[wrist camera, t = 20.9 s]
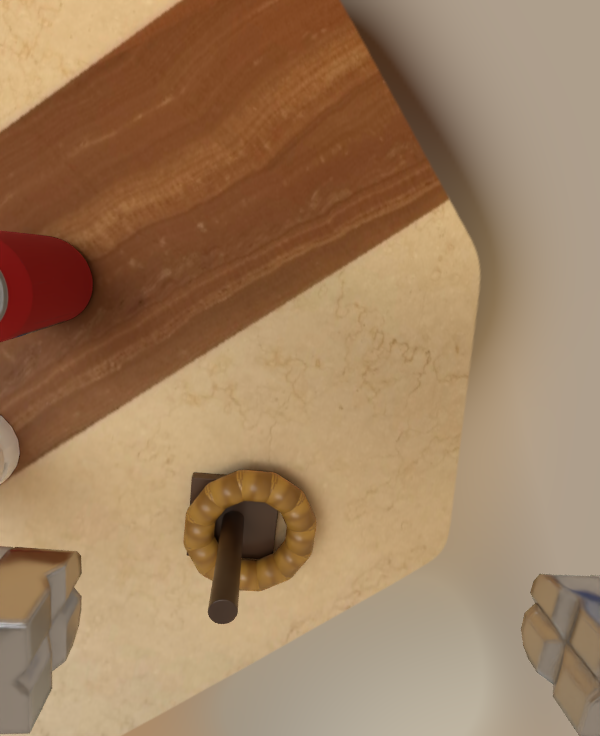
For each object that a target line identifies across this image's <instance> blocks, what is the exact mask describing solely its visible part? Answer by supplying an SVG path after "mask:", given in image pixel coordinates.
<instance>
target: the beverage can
mask: <svg viewBox="0 0 600 736" xmlns="http://www.w3.org/2000/svg"><path fill="white" fill-rule="evenodd" d="M92 289H93V280H92V274H91V271H90V268H89V266H88V264H87V262H86V260H85V259H84V257H83V256H82V255H81V254H80V253H79V252H78V251H77V250H76V249H75V248H74V247H73V246H71V245H70V244H68V243H67V242H65V241H63V240H61V239H58V238H55V237H50V236H43V235H35V234H26V233H17V232H8V231H0V342H3V341H6V340H9V339H13V338H16V337H19V336H22V335H26V334H29V333H32V332H35V331H38V330H41V329H44V328H47V327H50V326H53V325H56V324H59V323H62V322H64V321H67V320H70V319H72V318H74V317H76V316H77V315H78V314H80V313H81V312H82V311H83V310H84V309H85V307H86V306H87V304H88V302H89V300H90V298H91V294H92Z"/></svg>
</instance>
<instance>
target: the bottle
mask: <svg viewBox="0 0 600 736" xmlns="http://www.w3.org/2000/svg"><path fill="white" fill-rule="evenodd" d="M19 455H20V451H19V443H18V439H17V437H16V434H15V432H14V430H13V428H12V427H11V425H10V424H9V423H8V422H7V421H6V420H5V419H4V418H3V417H2V416H1V415H0V484H1V483H3V482H4V481H5V480H6V479H7V478H8V477H9V476H10V475H11V474H12V472H13V471H14V469H15V468H16V466H17V463H18V459H19ZM4 463H5V464H4Z"/></svg>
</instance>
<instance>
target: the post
mask: <svg viewBox="0 0 600 736" xmlns="http://www.w3.org/2000/svg"><path fill="white" fill-rule="evenodd" d="M224 476H226V475H220V474H205V473H193V476H192V483H191V498H190V505H191V504H192V503H193V502H194V500H195V499H196V498H197V496H198V495H199V494H200V493H201V491H202V490H203V489H204V487H205V486H206V485H207V484H208V483H210V482H212V481H214V480H217V479H219V478H221V477H224ZM277 515H278V510H276V509H274V508H273V507H271V506H270V505H268V504H267V503H265V502H252V501H243V502H240V503H238V504H236V505H233V506H231V507H228V508H226V509H225V510H224V511H223V513H222V514H221V515H220V517H219V518H218V519H217V520H216V522H215V531H214V537H215V538H216V540H217V542H218V550H217V557H216V563H215V570H214V576H213V582H212V589H211V595H210V601H209V608H208V615H209V617H210V619H211V620H212V621H214V622H215V623H218V624H226V623H229V622H231V621H233V620H234V619H235V617H236V616H237V612H238V599H239V585H240V572H241V558H248V559H261V558H263V557H265V556H268V555H270V554H273V549H274V540H275V532H276V523H277ZM187 556H189V554H188V552H187Z"/></svg>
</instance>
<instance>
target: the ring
mask: <svg viewBox="0 0 600 736" xmlns="http://www.w3.org/2000/svg"><path fill="white" fill-rule="evenodd" d="M243 501H252V502H265V503H267V504H268V505H270V506H271V507H273V508H274V509H276V510H278V511H279V512H281V514H282V516H283V518H284V521H285V523H286V525H287V530H286V538H285V541H284V542H283V543H282V544H281V546H280V547H279V548H278V549H277V550H276V552H275V553H273V554H270V555H268V556H265V557H263V558H261V559H258V560H249V559H241V572H240V585H239V590H245V591H262V590H265V589H267V588H270V587H272V586H275V585H277V584H279V583H282V582H284V581H287V580H289V579H290V578H292V577H293V576H294V574H295V573H296V572H297V571H298V570H299V568H300V567H301V566H302V565H303V564H304V563H305V561H306V560H307V559H308V558H309V557H310V555H311V553H312V550H313V544H314V537H315V531H316V518H315V516H314V513H313V511H312V509H311V507H310V505H309V503H308V500H307V498H306V496H305V494H304V492H303V491H302V490H301V489H299V488H298V487H296V486H295V485H293V484H292V483H290V482H289V481H287V480H286V479H284V478H283V477H281V476H280V475H278V474H276V473H273V472H264V471H252V470H238V471H236V472H233V473H231V474H228V475H226V476H224V477H221V478H219V479H217V480H214V481H212V482H210V483H208V484H207V485H206V486H205V487H204V489H203V490H202V491H201V493H200V494H199V495H198V496H197V498H196V499H195V500H194V502H193V503H192V504H191V505H190V507H189V508H188V510H187V512H186V520H185V532H184V546H185V549H186V550H187V552H188V554H189V556H190V557H191V559H192V561H193V563H194V564H195V566H196V568H197V570H198V571H199V573H200V574H202V575H203V576H205V577H207V578H208V579H210V580H212V581H213V576H214V570H215V563H216V557H217V550H218V542H217V540H216V538H215V537H214V531H215V522H216V520H217V519H218V518H219V517H220V515H221V514H222V513H223V511H224V510H225V509H226V508H228V507H231V506H233V505H236V504H238V503H240V502H243Z"/></svg>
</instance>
